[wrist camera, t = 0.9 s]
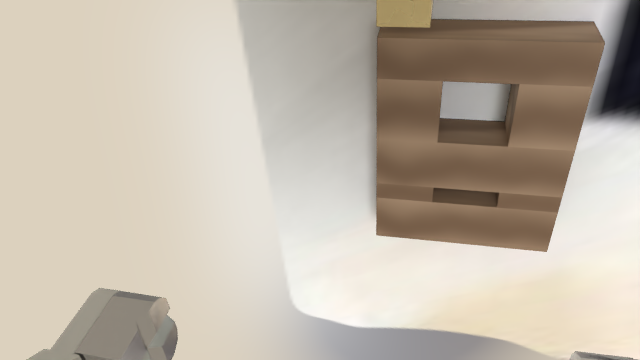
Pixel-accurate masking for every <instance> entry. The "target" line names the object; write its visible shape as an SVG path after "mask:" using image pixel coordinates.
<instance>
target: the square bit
mask: <svg viewBox="0 0 640 360" xmlns="http://www.w3.org/2000/svg"><path fill="white" fill-rule="evenodd" d="M432 7H433V0H377V27H428V28H430V24H431V16H432Z"/></svg>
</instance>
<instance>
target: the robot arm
mask: <svg viewBox="0 0 640 360" xmlns="http://www.w3.org/2000/svg"><path fill="white" fill-rule="evenodd" d="M169 309H170V307H169V304H168V302H167V299H166V298H162V297H156V296H149V295H143V294H136V293H130V292H123V291H118V290H110V289H103V288H99V289H97V290H96V291H94V292H93V293H92V294H91V295H90V296H89V298H88V299H87V300H86V302H85V303H84V304H83V306H82V307H81V308H80V310H79V311H78V313H77V314H76V315H75V317H74V318H73V319H72V321H71V322H70V323H69V325H68V326H67V328H66V329H65V330H64V332H63V333H62V334H61V336H60V337H59V339H58V340H57V341H56V343H55V344H54V345H53V347H52V348H51V349H50V350H47V349H43V350H42V351H40V352H38V353H37V354H35V355H34V356H32V357H30V358H29V359H27V360H171V359H172V357H173V355H174V353H175V349H176V344H177V340H178V337H177V336H178V335H177V327H176V324H175V322H174V321H173V320H172V319H171V318H170V317H169V316H168V315H167V313H168V311H169ZM570 360H637V359H633V358H628V357H619V356H611V355H603V354H594V353H586V352H577V351H575V352H574V353H573V354H572V355H571V358H570Z"/></svg>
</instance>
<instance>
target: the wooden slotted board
mask: <svg viewBox="0 0 640 360" xmlns="http://www.w3.org/2000/svg"><path fill="white" fill-rule="evenodd" d="M604 45H605V42H604V40H603V38H602V36H601V34H600V32H599V30H598V28H597V27H596V25H595V23H594V22H578V21H509V20H440V19H431V24H430V28H428V27H380V30H379V34H378V37H377V224H376V235H379V236H390V237H400V238H410V239H420V240H431V241H441V242H451V243H461V244H471V245H482V246H492V247H502V248H512V249H523V250H533V251H543V252H547V249H548V246H549V242H550V239H551V235H552V231H553V228H554V224H555V221H556V217H557V214H558V210H559V206H560V203H561V199H562V196H563V192H564V188H565V185H566V181H567V178H568V174H569V171H570V167H571V163H572V160H573V156H574V153H575V149H576V145H577V142H578V138H579V135H580V131H581V128H582V124H583V120H584V117H585V113H586V110H587V106H588V102H589V99H590V95H591V92H592V88H593V85H594V81H595V77H596V74H597V70H598V67H599V63H600V59H601V56H602V52H603V49H604ZM443 81H449V82H476V83H502V84H511V90H510V95H509V101H508V107H507V113H506V118H505V122H499V121H479V120H460V119H441V118H440V107H441V95H442V84H443Z"/></svg>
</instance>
